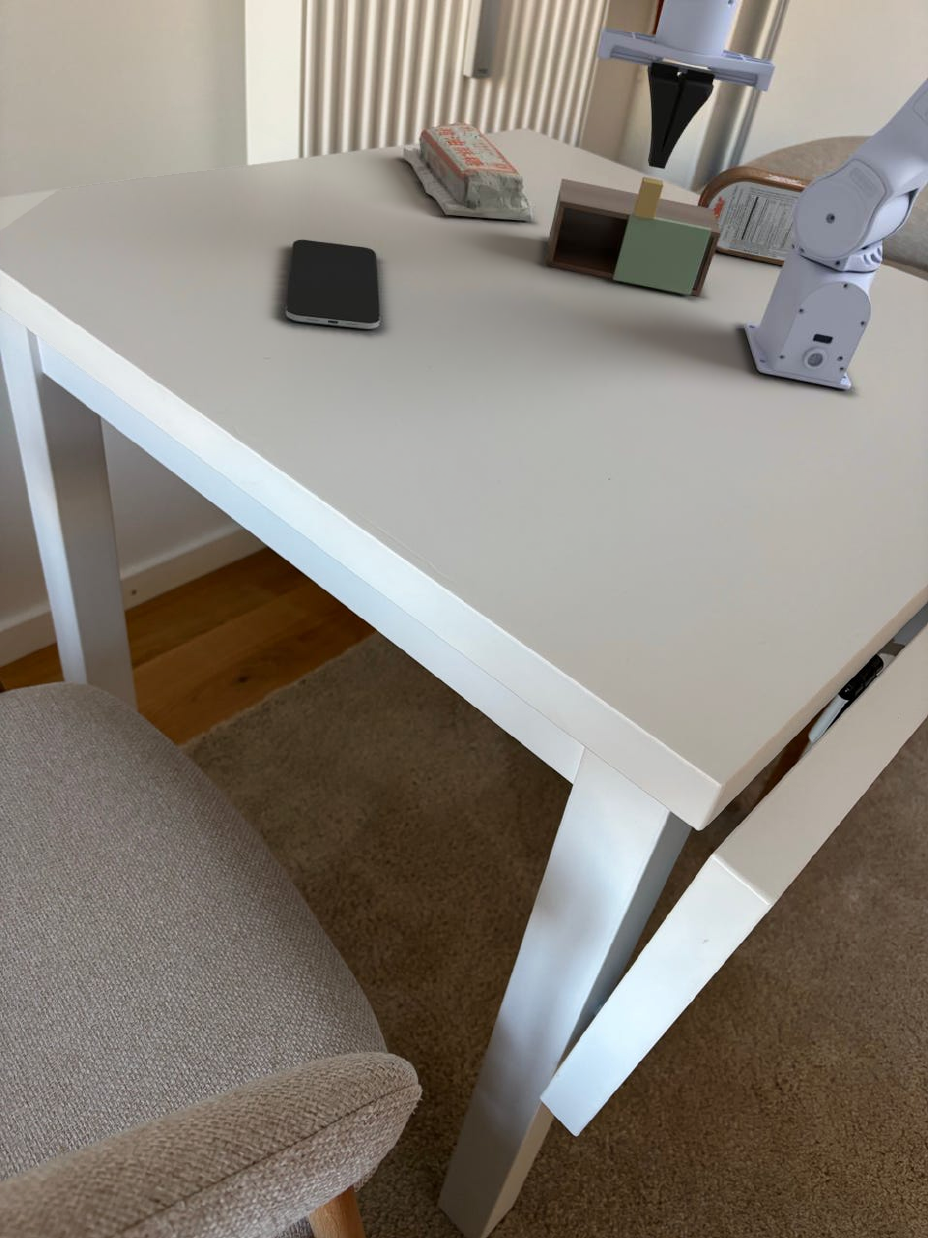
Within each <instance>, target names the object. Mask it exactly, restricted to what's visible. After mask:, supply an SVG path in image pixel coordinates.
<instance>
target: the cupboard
mask: <svg viewBox="0 0 928 1238" xmlns="http://www.w3.org/2000/svg"><path fill="white" fill-rule="evenodd" d="M637 197H638V193H635V192H632V191H631V192H630V191H625V190H621V189H616V188H612V187H605V186H601V185H597V184H591V183H587V182H582V181H577V180H571V179H568V178H561V180H560V186H559V189H558V195H557V199H556V203H555V208H554V213H553V217H552V222H551V227H550V230H549V236H548V242H547V250H546V251H547V252H546V263H545V266H547V267H551V268H557V269H562V270H566V271H572V272H576V273H581V274H586V275H590V276H596V277H601V278H607V279H610V280H613V275H614V271H615V268H616V264H617V260H618V257H619V253H620V249H621V245H622V242H623V238H624V234H625V231H626V227H627V223H628V219H629V216H630V213H631V212H633V213H634V208H635V204H636V200H637ZM655 217H657V218H662V219H667V220H672V221H677V222H682V223H687V224H692V225H697V226H702V227H707V228H711V234H710V237H709V240H708V243H707V246H706V249H705V252H704V255H703V258H702V261H701V264H700V267H699V270H698V273H697V276H696V279H695V282H694V285H693V288H692V291H691V294H690V296H696V297H700V296H701V293H702V290H703V288H704V285H705V282H706V278H707V276H708V273H709V270H710V267H711V264H712V261H713V258H714V255H715V253H716V246H717V243H718V240H719V237H720V234H721V233H720V230H719V226H718V223H717V220H716V217H715V214H714V211H713V209H710V208H705V207H700V206H697V205H694V204H690V203H684V202H680V201H676V200H675V201H674V200H670V199H665V198H661V197H660V199H659V203H658V206H657V210H656V213H655Z"/></svg>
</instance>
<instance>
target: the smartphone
mask: <svg viewBox="0 0 928 1238" xmlns="http://www.w3.org/2000/svg"><path fill="white" fill-rule="evenodd" d="M291 249H292V250H291V252H290V253H291V257H290V264H289V277H288V285H287V294H286V295H287V296H286V303H285V316H286V317H287V319H290V320H291V321H294V322H298V323H299V322H300V323H306V324H307V323H308V324H317V325H318V324H319V325H327V326H336V327H345V328H354V329H362V330H373V329H376V328H378V327H379V326H380V323H381V315H380V300H379V282H378V280H379V279H378V276H379V275H378V265H377V253H376V251H375V250H373V249H372V248H370V247H365V246H358V245H350V244H343V243H334V242H327V241H326V242H325V241H318V240H311V239H297V240H294V241H293V243H292V248H291Z"/></svg>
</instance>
